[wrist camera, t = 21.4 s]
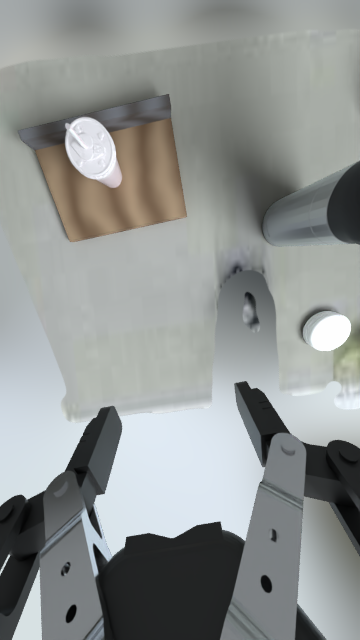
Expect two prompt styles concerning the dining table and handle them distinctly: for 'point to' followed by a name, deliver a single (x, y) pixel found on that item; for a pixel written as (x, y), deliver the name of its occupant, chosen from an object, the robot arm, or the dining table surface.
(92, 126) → the smoothie
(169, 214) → the tan serving tray
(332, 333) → the white round disc
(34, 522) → the robot arm
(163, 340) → the dining table surface
